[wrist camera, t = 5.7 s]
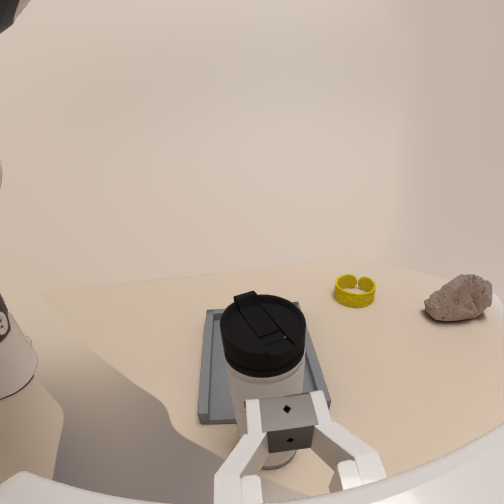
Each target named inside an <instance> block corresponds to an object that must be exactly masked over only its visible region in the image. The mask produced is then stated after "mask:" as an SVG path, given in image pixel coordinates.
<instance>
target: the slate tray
mask: <svg viewBox="0 0 504 504" xmlns="http://www.w3.org/2000/svg"><path fill="white" fill-rule="evenodd" d="M292 303H293V304H295V305H296V306H297V307H298V308H299V309H300V306H299V303H298V302H292ZM300 310H301V309H300ZM224 311H225V309H215V310H207V312H206V322H205V332H204V342H203V353H202V365H201V377H200V389H199V403H198V416H199V419H200V421H201V424H226V423H237V422H236V417H235V412H234V407H233V402H232V397H231V392H230V387H229V381H228V376H227V370H226V365H225V359H224V348H223V343H222V337H221V331H220V319H221V316H222V314H223V312H224ZM319 390H322V391H323V393H324V396H325V399H326V402H327V406H328V409H329V408H330V403H331V399H330V395H329V392H328V389H327V386H326V383H325V380H324V377H323V374H322V371H321V368H320V365H319V362H318V359H317V356H316V353H315V350H314V347H313V344H312V341H311V338H310V335H309V332H308V329H307V326H306V335H305V364H304V378H303V391H302V393H305V392H313V391H319Z"/></svg>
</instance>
